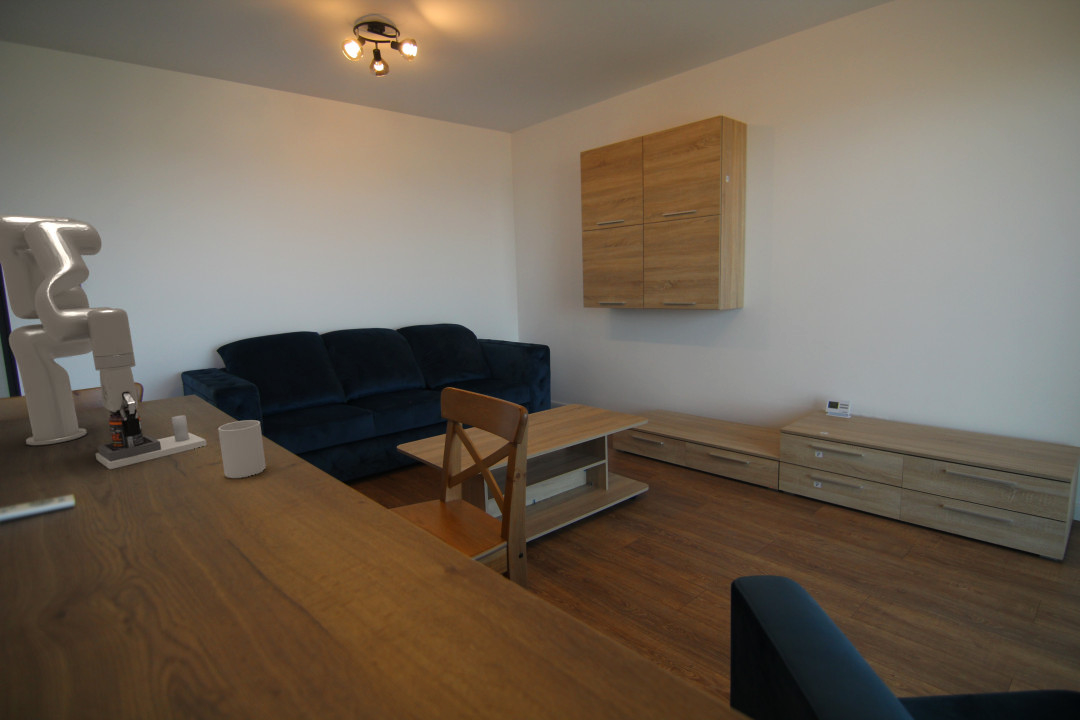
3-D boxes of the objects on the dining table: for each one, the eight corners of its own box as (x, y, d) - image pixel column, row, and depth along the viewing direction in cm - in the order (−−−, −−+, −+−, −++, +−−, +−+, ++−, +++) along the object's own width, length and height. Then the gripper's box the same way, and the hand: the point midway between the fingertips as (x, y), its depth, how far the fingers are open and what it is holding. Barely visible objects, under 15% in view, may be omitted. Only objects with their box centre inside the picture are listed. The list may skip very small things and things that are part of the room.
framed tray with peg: (96, 459, 132) (91, 429, 130) (189, 437, 147) (185, 410, 145) (109, 469, 124) (104, 437, 123) (206, 445, 139) (202, 417, 138)
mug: (271, 470, 119) (266, 423, 117) (232, 481, 113) (225, 432, 111) (250, 459, 127) (244, 415, 125) (212, 469, 121) (206, 423, 120)
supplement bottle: (108, 454, 130) (99, 408, 128) (132, 446, 135) (125, 402, 134) (126, 456, 128) (118, 409, 126) (151, 448, 134) (143, 403, 132)
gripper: (85, 361, 131) (97, 430, 134) (104, 367, 120) (117, 442, 123) (123, 356, 136) (134, 423, 139) (145, 362, 125) (156, 434, 128)
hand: (126, 432), depth 131 cm, fingers open, 9 cm apart
